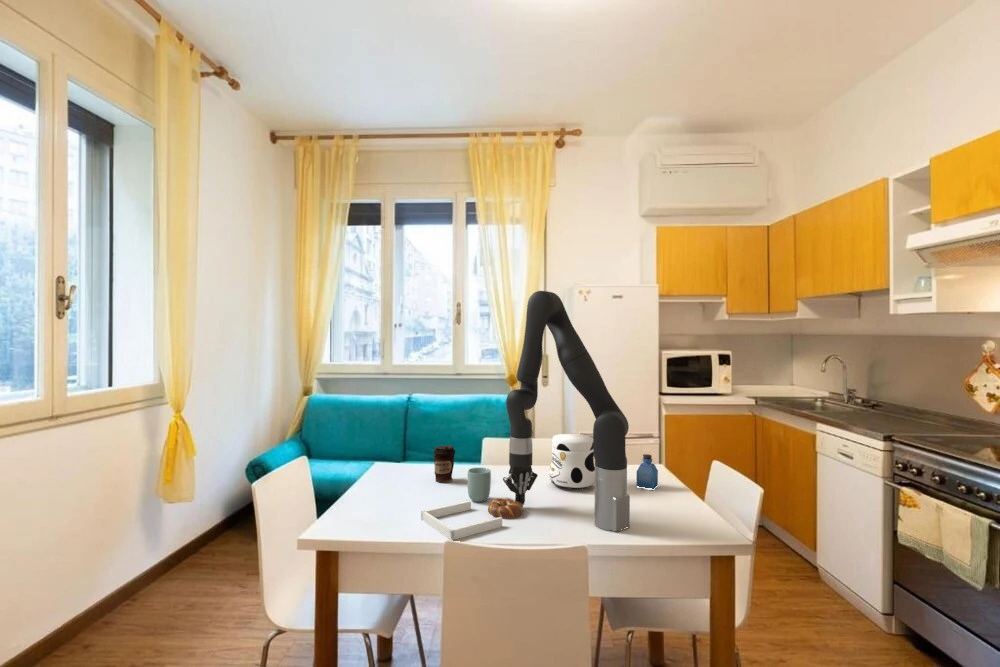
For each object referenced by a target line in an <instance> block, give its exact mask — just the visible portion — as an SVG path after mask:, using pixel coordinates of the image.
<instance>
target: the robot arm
mask: <svg viewBox="0 0 1000 667" xmlns="http://www.w3.org/2000/svg"><path fill="white" fill-rule="evenodd" d="M560 297H561V296H558V294H557V293H555V292H552V291H549V290H548V291H546V290H537V291H534V292H533V293H532V294H531V295H530V296H529V298H528V301H527V305H526V315H525V316H526V318H525V326H524V327H525V328H524V329H525V330H524V337H523V338H524V339H523V344H522V350H521V354H520V359H519V364H518V367H517V370H516V380H517V381H518V382H520V389H519V388H518V389H517V388H516V389H512V390H510V392H509V393H508V394H507V396H506V400H505V402H506V404H505V406H506V410H507V415H508V420H509V424H510V427H509V428H510V429H509V430H510V432H509V433H510V435H509V445H508V446H509V447H508V448H509V449H508V451H509V452H508V453H509V454H508V457H509V458H508V464H509V471H508V475H507V476H506V477H505V476H504V477H503V478H502V481H503V482H504V484H505V485H506V486H507V488H508V489H509V491H510V492H512V493H514V494H515V496H514V497H515V500H514V501H518V502H520V503H521V504H522V505H523V506H524V504H525V502H526V493H527V492H528V491H530V490H531V489H532V487H533V485H534V483H535V482H536V480H537V478H538V476H539V475H538V473H535V472H534V471H533V468H532V465H533V438H532V437H533V425H532V424H533V423H532V420H531V419H530V418H528V417H526V411H529V410H532V409H533V408H534V407H535V405H536V403H537V401H538V396H539V394H538V393H539V391H538V388H539V384H538V379H539V376H540V371H541V368H542V362H543V356H544V355H543V354H544V353H543V341H544V340H543V338H544V333H545V329H546V326H547V328H548V329H549V331H550V333H551V335H552V336H553V337H552V338H553V341H554V343H555V348H556V353H557V358H558V361H559V363H560V365H561V367H562V369H563V371H564V373H565V375H566V376H567V378H568V380H569V382H570V383H571V384H572V386H573V387H574V389H576V390H577V391H578V392H579V394H580V395H581V396H582V397H583V399H584V400H585V401H586V402H587V403H588V405H589V407H590V409H591V411H592V413H593V416H594V418H595V420H594V423H593V430H592V438H593V453H594V466H595V483H594V525H595V526H596V527H597V528H598V529H601V530H605V531H610V530H612V532H614V531H618V532H620V531H619V530H621V529H624V528H626V527H629V526H630V525H631V524H630V523H631V522H630V520H631V519H630V518H631V514H630V513H631V511H630V510H631V508H630V507H631V505H630V502H631V496H630V493H629V494H628V492H627V491H628V458H627V454H626V436H627V434H628V432H629V426H630V425H629V422H628V419H627V417H626V416H625V414H624V413H623V410H621V408H620V407H619V405H618V404H617V402H616V400H614V398H613V397H612V395H611V394H610V392H609V389H608V388H607V385H606V384H605V381H604V380H603V377H602V375H601V373H600V371H599V369H598V368H597V365H596V364H595V362H594V360H593V358H592V356H591V355H590V353H589V351H588V349H587V348H586V346H585V345H584V343H583V340H582V339H581V338H580V336H579V334H578V333H577V331H576V329H575V328H574V326H573V324H572V322H571V319H570V317H569V315H568V312H567V310H566V308H565V305H564V303H563V300H562V299H561V298H560ZM629 528H630V527H629ZM624 530H625V529H624ZM621 531H622V530H621Z"/></svg>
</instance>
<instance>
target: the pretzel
mask: <svg viewBox="0 0 1000 667" xmlns="http://www.w3.org/2000/svg"><path fill="white" fill-rule="evenodd" d="M523 510H524V505H522V504H521V503H520V502H518V501H515V500H513V499H512V498H502V497H501V498H500V497H499V498H495V499H493V500H492V501H491V502H490V503H489V504H488V507H487V511H488V514H489V515H490V516H491V515H492V516H493V518H494V517H495V518H498V517H502V519H513V518H514V519H516V518H518V517H520V516H521V515H522V514H523Z"/></svg>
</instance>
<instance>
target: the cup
mask: <svg viewBox="0 0 1000 667" xmlns="http://www.w3.org/2000/svg"><path fill="white" fill-rule="evenodd" d="M491 482H492V472H491V469H489V468H486V467H472V468H469V469H467V494H468V497H469V499H470V501H471V502H475V503H482V502H485V501H487V500H488V499H489V497H490V494H491V488H492V487H491V486H492V485H491V484H492V483H491Z"/></svg>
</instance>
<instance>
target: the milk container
mask: <svg viewBox="0 0 1000 667" xmlns="http://www.w3.org/2000/svg"><path fill="white" fill-rule="evenodd" d="M551 446H552V447H551V461H550V462H551V463H550V466H549V470H548V471H549V480H550V482H551V483H552V485H555V486H556V487H559V488H560V489H561V488H562V489H566V490H573V491H574V490H586V489H588V488H591V487H593V485H594V486H595V458H594V453H593V436H589V435H587V434H586V435H585V434H576V433H575V434H574V433H561V434H555V435H553V436H552V441H551Z"/></svg>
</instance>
